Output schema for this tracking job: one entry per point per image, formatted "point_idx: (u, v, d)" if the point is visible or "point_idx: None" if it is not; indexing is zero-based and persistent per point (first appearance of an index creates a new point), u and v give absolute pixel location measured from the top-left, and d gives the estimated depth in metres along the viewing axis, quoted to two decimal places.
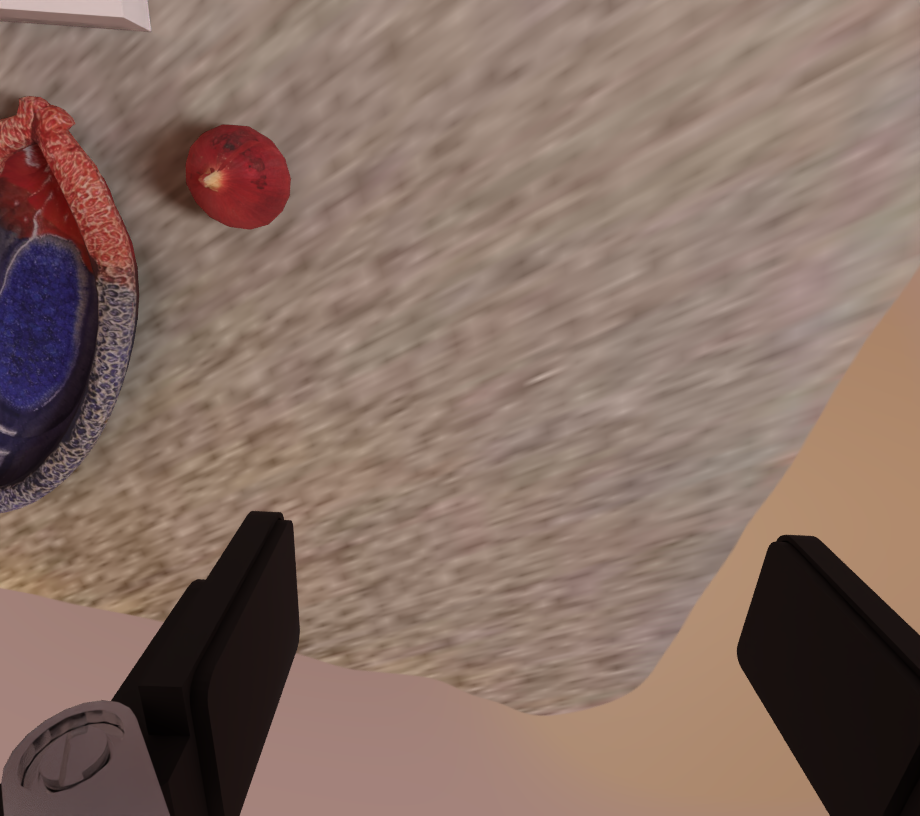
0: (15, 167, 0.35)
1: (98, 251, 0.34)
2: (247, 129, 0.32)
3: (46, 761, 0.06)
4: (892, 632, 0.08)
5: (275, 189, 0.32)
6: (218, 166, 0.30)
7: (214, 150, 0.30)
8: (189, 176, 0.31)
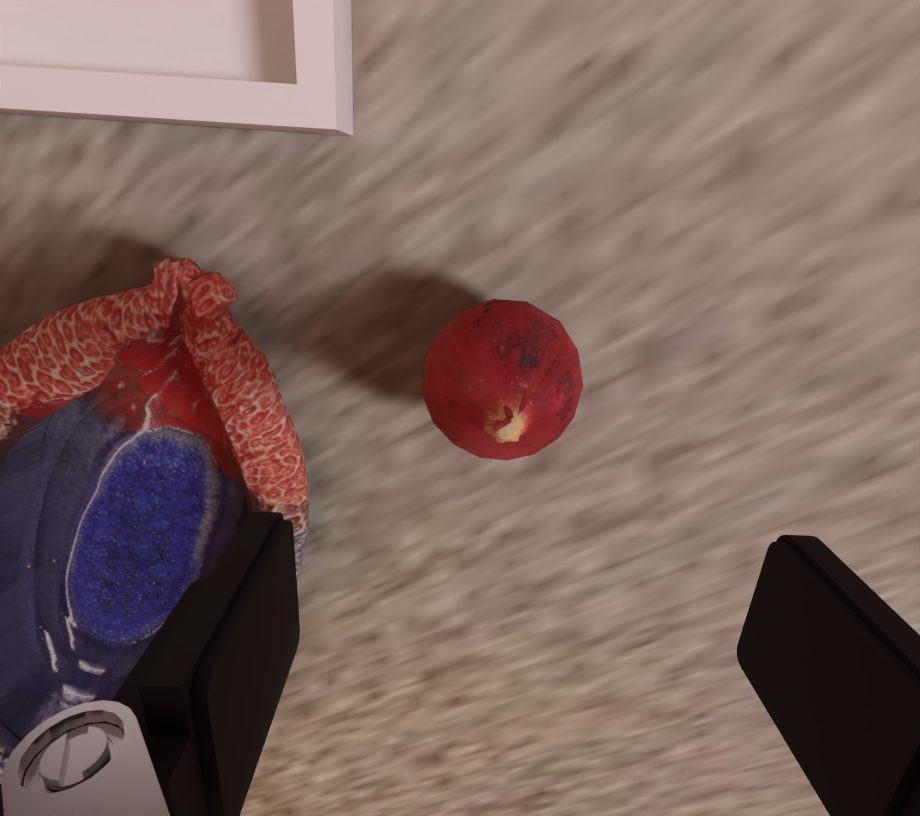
0: (128, 347, 0.22)
1: (263, 485, 0.22)
2: (537, 315, 0.19)
3: (46, 761, 0.06)
4: (892, 632, 0.08)
5: (575, 410, 0.19)
6: (517, 403, 0.17)
7: (505, 371, 0.17)
8: (446, 402, 0.18)
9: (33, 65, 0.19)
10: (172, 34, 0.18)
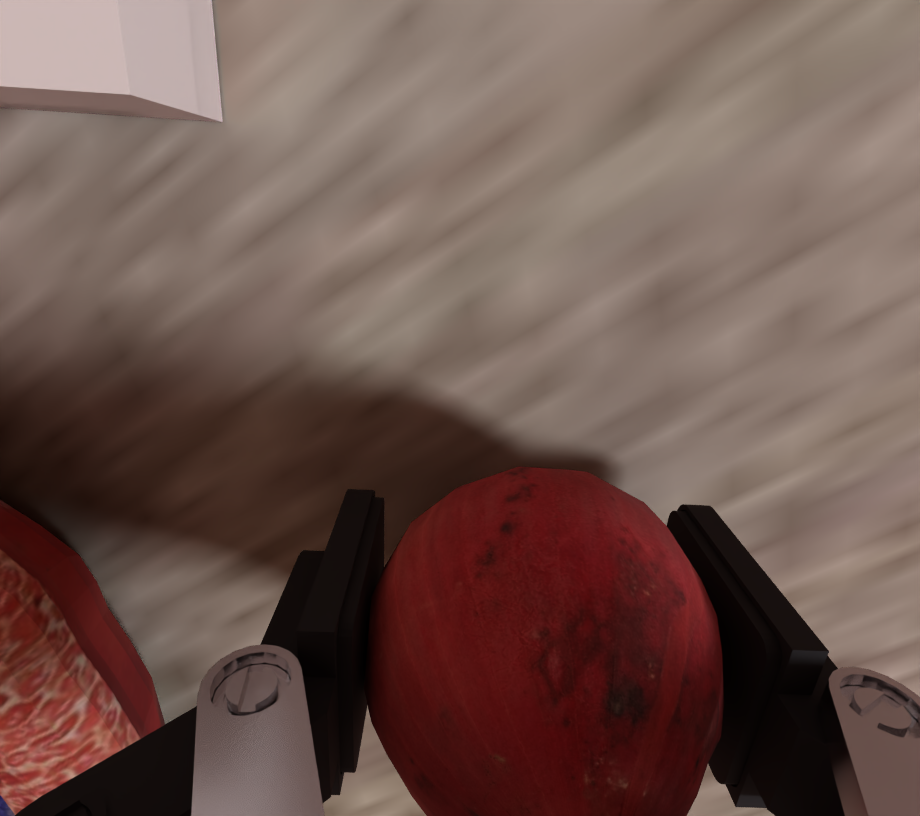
0: None
1: None
2: (626, 534, 0.08)
3: (229, 692, 0.07)
4: (753, 584, 0.09)
5: None
6: None
7: (567, 739, 0.06)
8: (410, 766, 0.07)
9: None
10: None
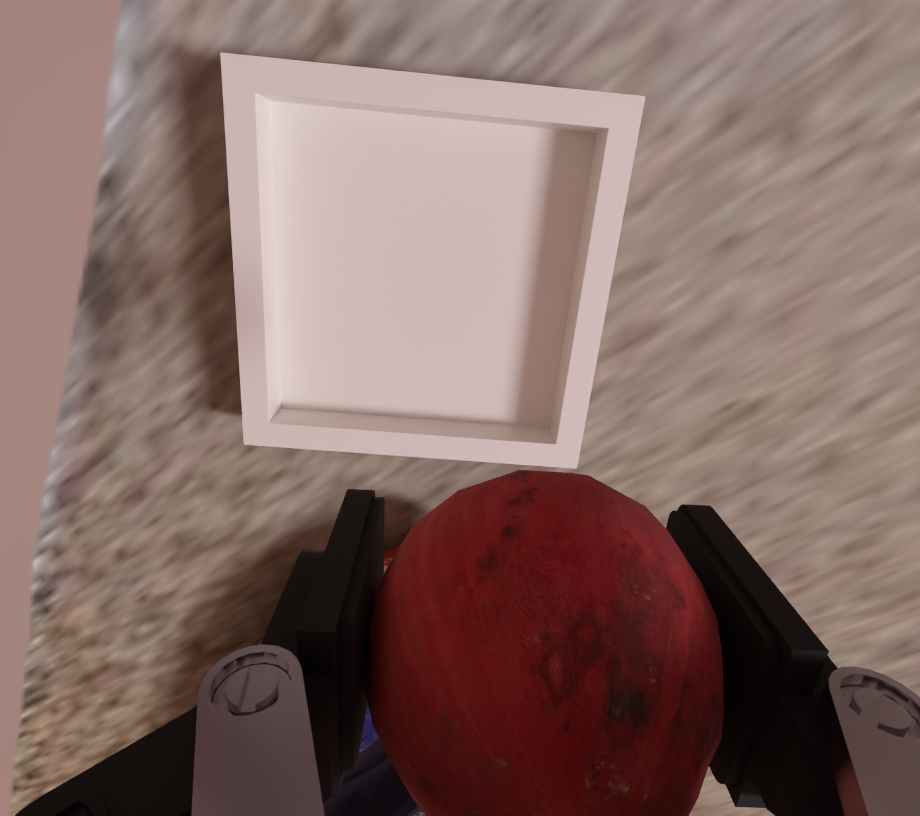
0: None
1: None
2: (627, 539, 0.08)
3: (229, 692, 0.07)
4: (752, 584, 0.09)
5: None
6: None
7: (567, 743, 0.06)
8: (412, 770, 0.07)
9: (362, 408, 0.28)
10: (462, 394, 0.27)
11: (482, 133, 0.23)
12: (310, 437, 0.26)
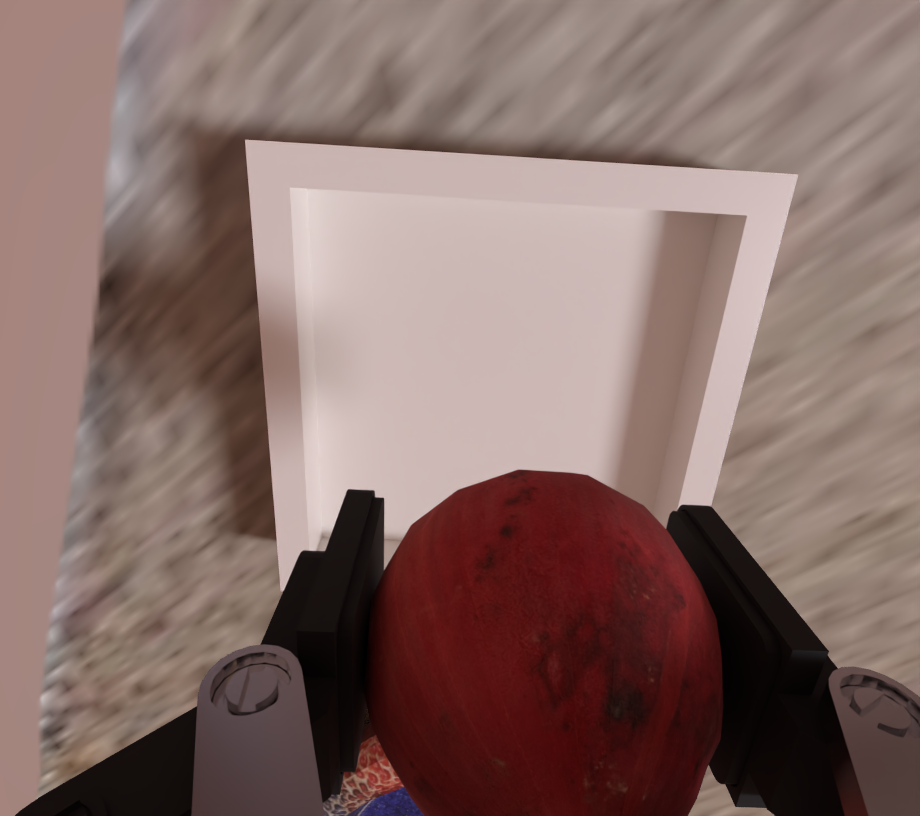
0: None
1: None
2: (626, 538, 0.08)
3: (229, 692, 0.07)
4: (752, 584, 0.09)
5: None
6: None
7: (567, 743, 0.06)
8: (410, 770, 0.07)
9: None
10: None
11: (573, 217, 0.18)
12: None
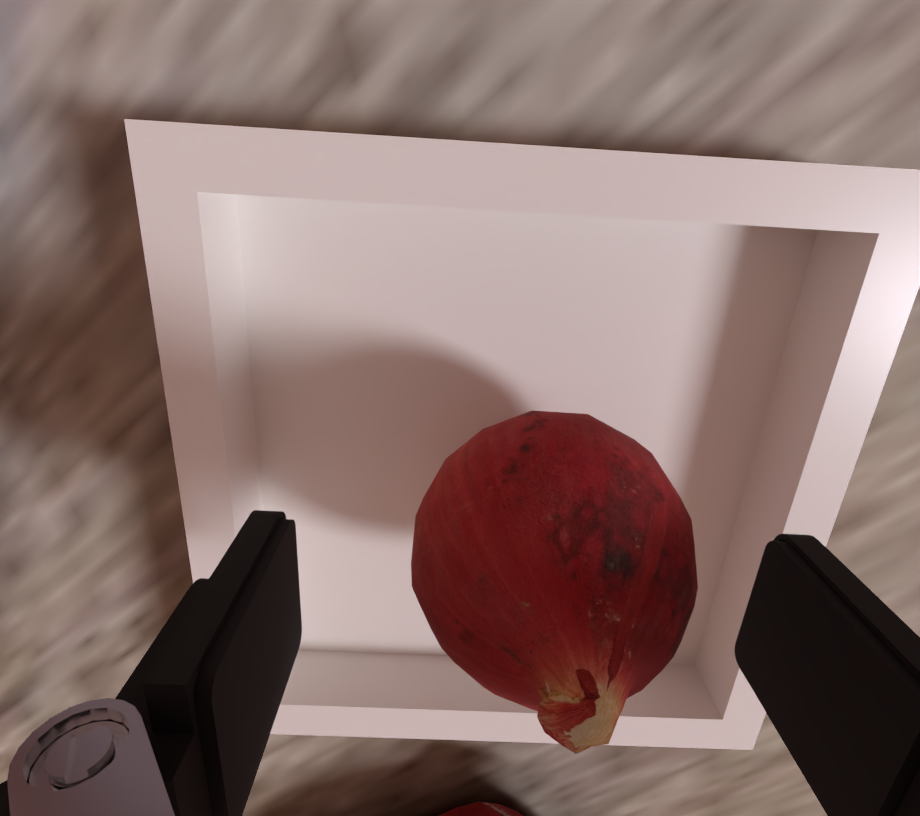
0: None
1: None
2: (618, 452, 0.10)
3: (51, 758, 0.06)
4: (888, 630, 0.08)
5: None
6: (604, 660, 0.08)
7: (574, 587, 0.09)
8: (455, 627, 0.10)
9: (403, 645, 0.18)
10: None
11: (614, 234, 0.13)
12: (322, 719, 0.16)
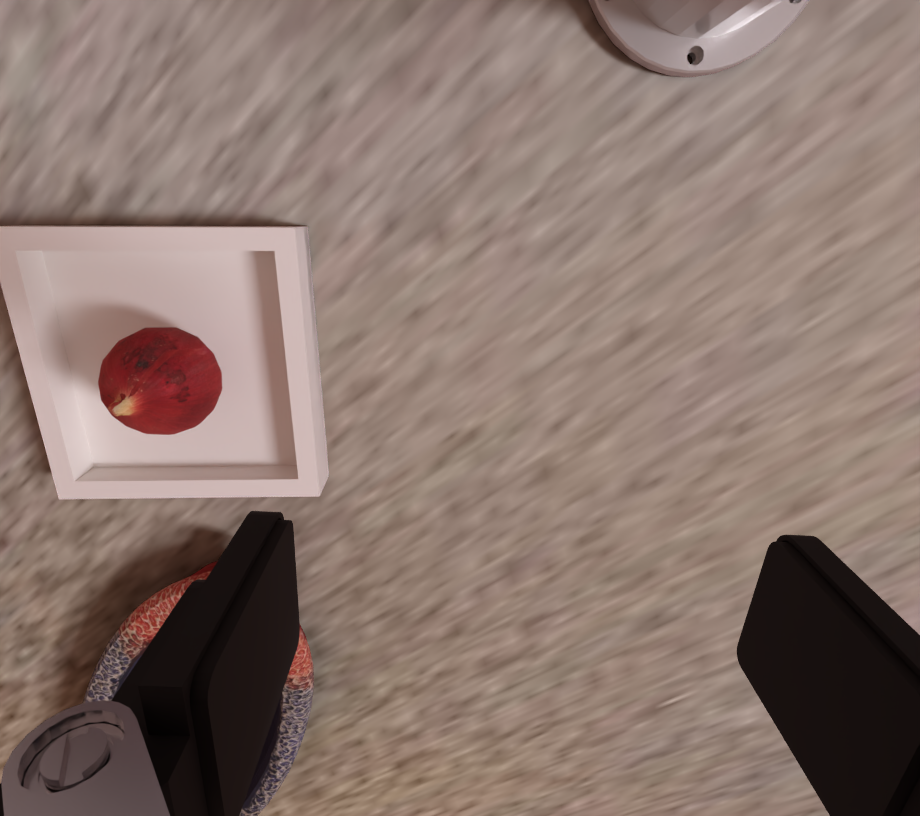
0: None
1: None
2: (165, 335, 0.28)
3: (46, 761, 0.06)
4: (892, 632, 0.08)
5: (201, 396, 0.29)
6: (129, 391, 0.26)
7: (125, 371, 0.27)
8: (101, 396, 0.28)
9: (157, 462, 0.36)
10: (231, 445, 0.35)
11: (200, 256, 0.31)
12: (108, 489, 0.34)
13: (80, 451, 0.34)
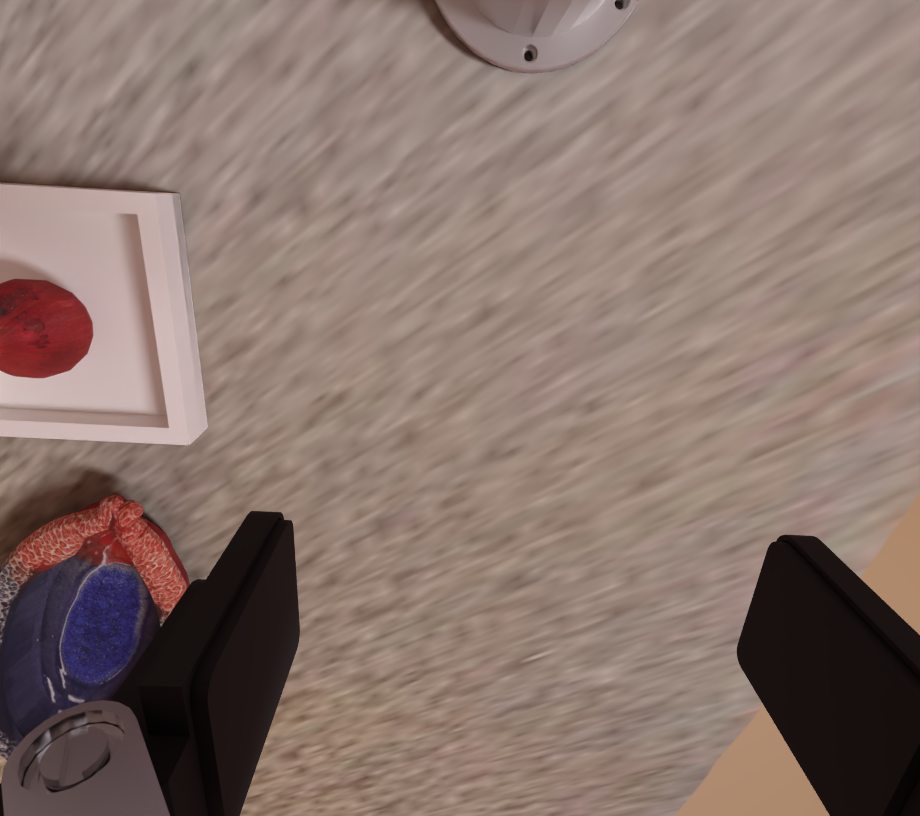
0: None
1: (162, 602, 0.41)
2: (29, 286, 0.31)
3: (46, 761, 0.06)
4: (892, 632, 0.08)
5: (62, 344, 0.32)
6: None
7: None
8: None
9: (45, 405, 0.38)
10: (112, 394, 0.38)
11: (76, 215, 0.34)
12: None
13: None
